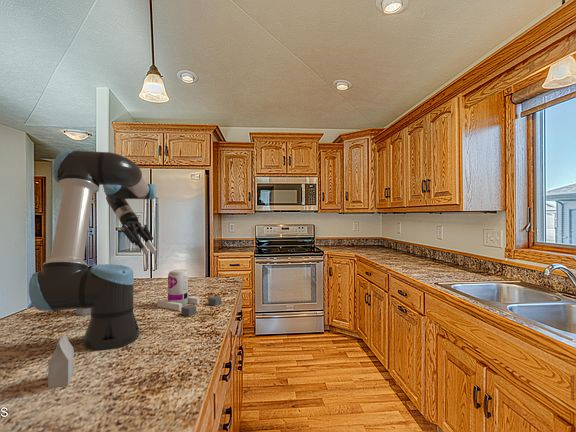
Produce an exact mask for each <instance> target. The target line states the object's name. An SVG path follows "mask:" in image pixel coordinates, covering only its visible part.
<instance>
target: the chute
mask: <svg viewBox="0 0 576 432" xmlns="http://www.w3.org/2000/svg"><path fill="white" fill-rule="evenodd" d="M207 303H208V306H213V307H217V306H220V305H222V296H216V295H214V296H213V295H212V296H211V297H208V299H207ZM187 304H189V305H187ZM187 304H186V305H185V306H182V304H181V303H175V302H169V301H168V300H162V299H159V300H156V307H157V308H163V309H169V310H174V311H180V313H181V314H180V315H181V316H185V317H192V316H194V315H196V314H197V306H196V305H199V304H200V297H196V296H191V295H190V296H189V295H188V303H187ZM191 304H193V305H191Z"/></svg>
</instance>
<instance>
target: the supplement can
mask: <svg viewBox="0 0 576 432" xmlns="http://www.w3.org/2000/svg"><path fill="white" fill-rule="evenodd" d="M188 276H189V273H188V272H187V270H186V269H171V270H169V273H168V275H167V301H169V302H175V303H181V304H182V307H184V306H187V304H189V303H188V296H189V292H188V290H189V288H188V287H189V285H188V284H189V280H188V279H189V277H188Z"/></svg>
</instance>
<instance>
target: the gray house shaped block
mask: <svg viewBox="0 0 576 432" xmlns="http://www.w3.org/2000/svg"><path fill="white" fill-rule="evenodd" d="M74 349H75V348H74V347H73V345H72V344H71V342H70V341H69V339H68V337H67V334H66V333H63V334H62V336H61V337H60V339H59V340H58V342H57V344H56V348H55V350H54V352H53V354H52V356H51V358H50V359H49V361H48V363H47V364H48V365H47V372H48V373H47V390H48V391H49V390H54V389H58V388H57V387H60V388H64V386H65V387H68V386H69V385H70V382H71V380H72V377H73V374H74V361H75V360H74V358H75V356H74V355H75V352H74V351H75V350H74ZM53 388H54V389H53Z"/></svg>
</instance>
